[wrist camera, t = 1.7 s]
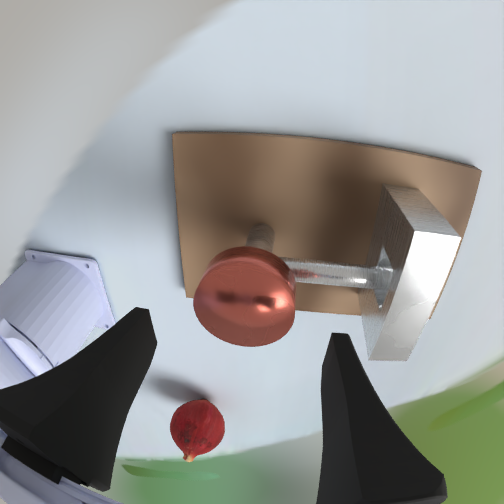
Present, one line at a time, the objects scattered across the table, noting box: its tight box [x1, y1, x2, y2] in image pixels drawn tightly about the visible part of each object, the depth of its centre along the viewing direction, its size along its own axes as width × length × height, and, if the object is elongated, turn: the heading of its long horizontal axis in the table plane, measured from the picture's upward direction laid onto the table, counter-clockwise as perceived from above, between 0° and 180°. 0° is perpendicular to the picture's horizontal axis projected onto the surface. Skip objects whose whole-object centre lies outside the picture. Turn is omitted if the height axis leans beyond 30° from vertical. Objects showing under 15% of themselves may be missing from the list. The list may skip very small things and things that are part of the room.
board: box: [172, 132, 482, 319], centre depth 19 cm, size 19×12×1 cm, turn 88°
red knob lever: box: [193, 223, 394, 347], centre depth 16 cm, size 12×4×7 cm, turn 88°
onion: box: [170, 399, 225, 462], centre depth 29 cm, size 6×6×8 cm
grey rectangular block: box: [357, 183, 461, 361], centre depth 16 cm, size 2×8×6 cm, turn 178°
